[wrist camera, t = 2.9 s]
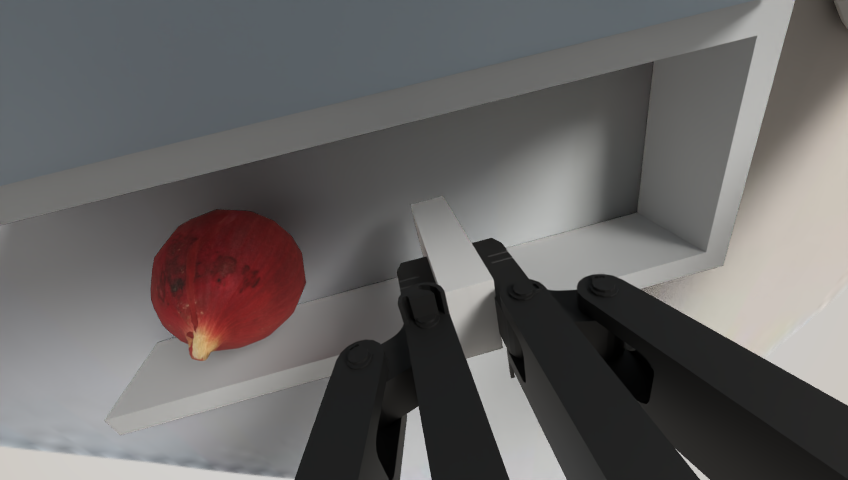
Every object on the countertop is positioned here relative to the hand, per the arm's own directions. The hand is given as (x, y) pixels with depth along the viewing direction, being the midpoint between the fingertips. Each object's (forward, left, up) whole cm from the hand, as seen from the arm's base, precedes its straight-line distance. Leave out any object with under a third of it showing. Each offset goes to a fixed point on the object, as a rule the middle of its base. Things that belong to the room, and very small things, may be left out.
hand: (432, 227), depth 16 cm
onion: (0, -9, -4) cm, 10 cm away
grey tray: (0, -2, -4) cm, 4 cm away
